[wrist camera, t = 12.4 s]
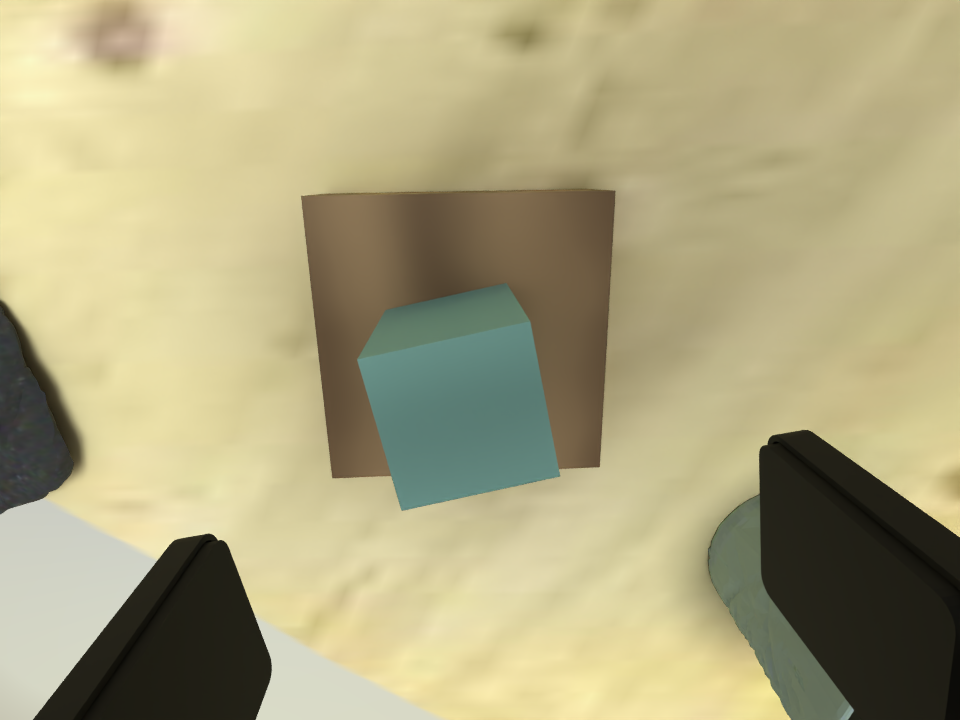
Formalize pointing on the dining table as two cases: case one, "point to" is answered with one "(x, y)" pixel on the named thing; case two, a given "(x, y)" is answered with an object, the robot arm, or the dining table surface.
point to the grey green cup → (769, 621)
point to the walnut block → (457, 269)
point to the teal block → (458, 397)
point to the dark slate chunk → (26, 430)
